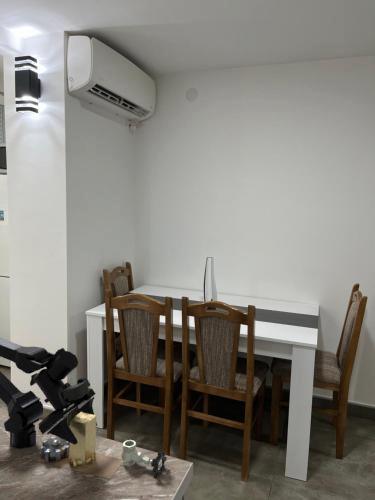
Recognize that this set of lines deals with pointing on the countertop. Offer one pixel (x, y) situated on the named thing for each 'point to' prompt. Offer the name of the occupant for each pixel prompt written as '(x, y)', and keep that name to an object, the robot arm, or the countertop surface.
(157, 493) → the countertop surface
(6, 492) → the countertop surface
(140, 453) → the valve
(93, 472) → the carrier board
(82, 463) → the gold tall block
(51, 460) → the sun gear
